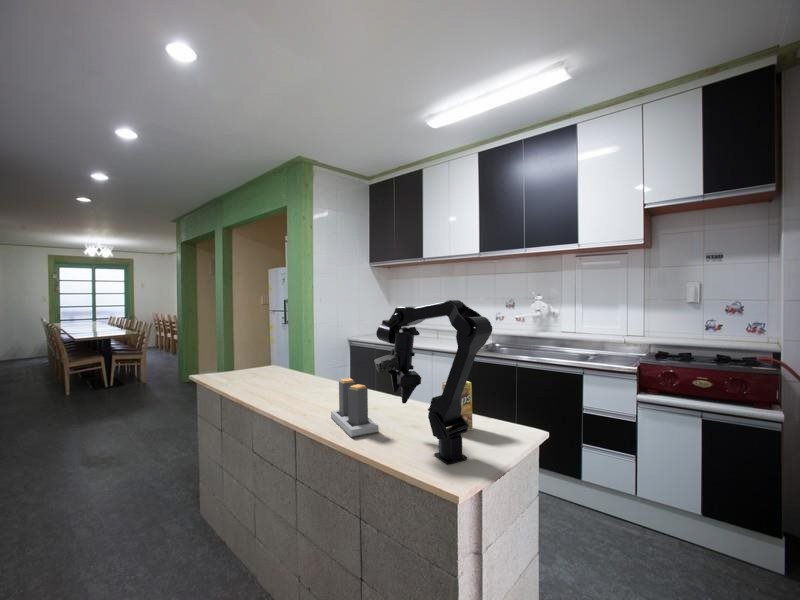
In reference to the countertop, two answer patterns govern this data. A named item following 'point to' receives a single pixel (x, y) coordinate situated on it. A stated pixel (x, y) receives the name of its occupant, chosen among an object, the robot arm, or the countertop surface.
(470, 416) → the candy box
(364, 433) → the light grey recessed block
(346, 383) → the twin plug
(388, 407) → the countertop surface
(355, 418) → the orange grey tall block
